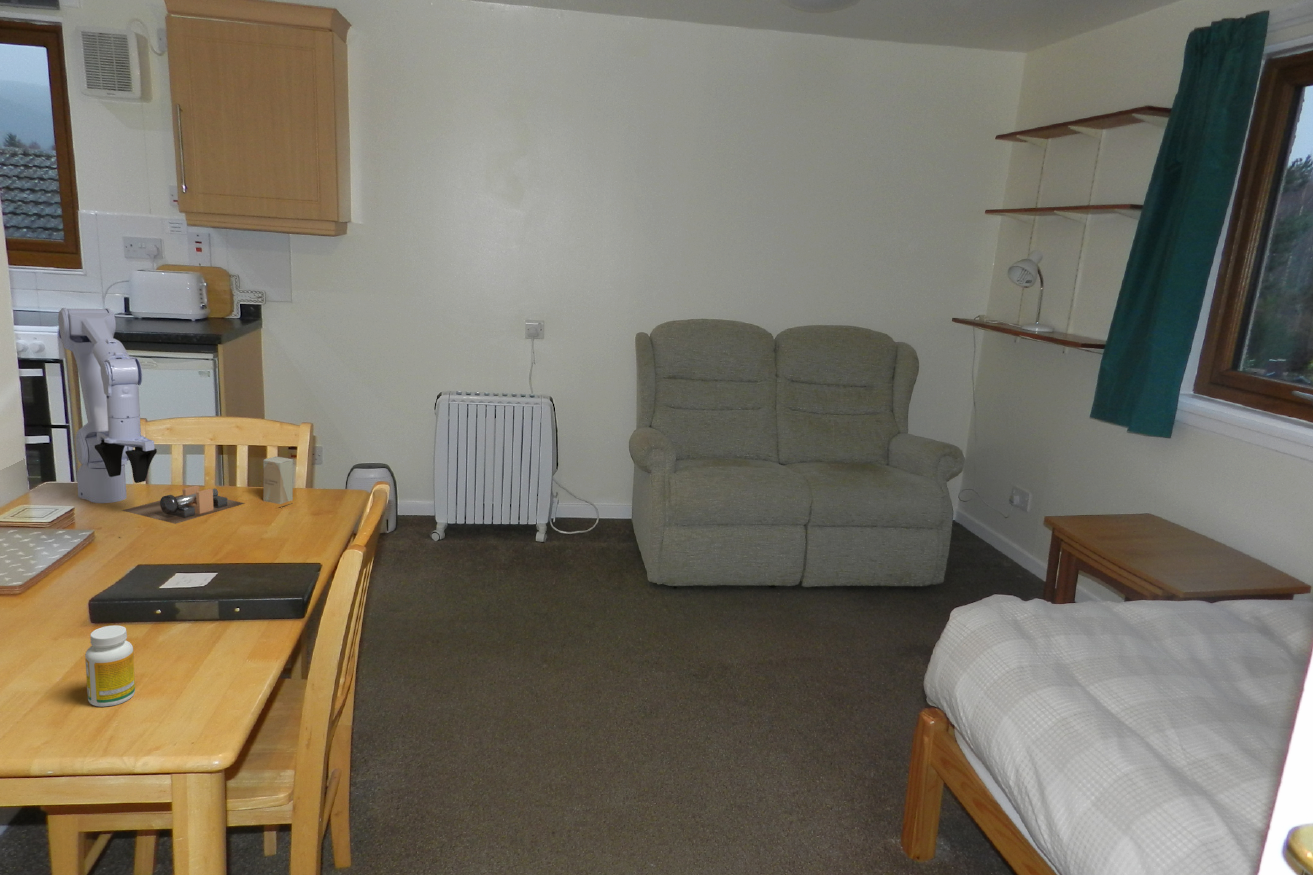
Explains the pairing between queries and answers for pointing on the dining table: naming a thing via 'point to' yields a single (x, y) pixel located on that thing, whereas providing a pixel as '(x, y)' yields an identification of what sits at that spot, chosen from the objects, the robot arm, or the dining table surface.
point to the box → (278, 480)
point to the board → (156, 512)
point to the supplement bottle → (110, 667)
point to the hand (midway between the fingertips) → (127, 478)
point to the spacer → (200, 499)
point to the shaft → (178, 502)
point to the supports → (189, 511)
